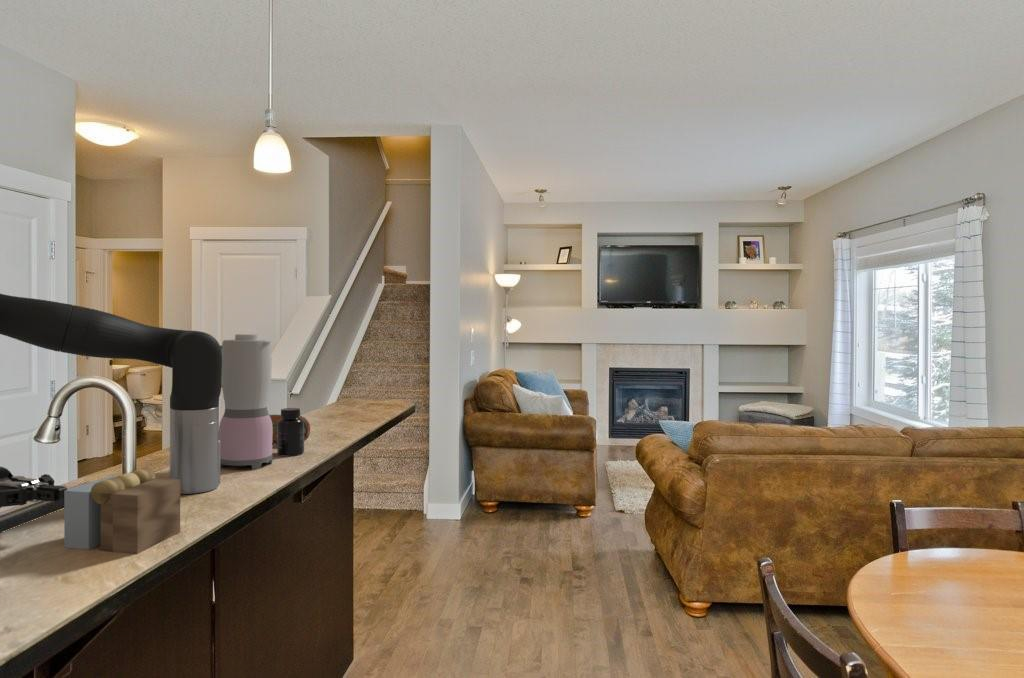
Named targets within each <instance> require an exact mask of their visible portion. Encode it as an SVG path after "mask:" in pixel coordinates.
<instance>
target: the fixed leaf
mask: <svg viewBox="0 0 1024 678" xmlns="http://www.w3.org/2000/svg"><path fill="white" fill-rule="evenodd" d="M128 473H134V474H136V475H137V476H138V478H139V480H140V484H139V485H137V486H134V487H131V488H128V489H125V485H124V483H123V481H122V480H121V479H119V478H116V477H114V478H110V479H107V480H104V481H101V482H98V483H96V484H94V485H93V486H92V488H91V497H92V499H93V500H94V501H95V502H96V503H98V504H101V544H100V551H101V552H116V553H124V554H125V553H128V554H139V553H141V552H143V551H145V550H148V549H149V548H151V547H153V546H156V545H157V544H159V543H161V542H163V541H165V540H168V539H169V538H171V537H173V536H175V535H177V534H179V533H180V532H181V494H180V479H170V478H167V477H166V478H163V477H156V476H157V475H156V474H155V471H154V470H153V469H152V468H150V467H148V466H147V467H141V468H139V469H135V470H132V471H129V472H128Z"/></svg>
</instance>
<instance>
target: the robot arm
mask: <svg viewBox="0 0 1024 678" xmlns="http://www.w3.org/2000/svg"><path fill="white" fill-rule="evenodd" d="M0 335H2V336H5V337H9V338H12V339H14V340H16V341H20V342H22V343H26V344H29V345H32V346H35V347H38V348H42V349H45V350H49V351H54V352H60V353H64V354H71V355H77V356H82V357H83V356H84V357H89V358H90V357H91V358H101V359H116V360H117V359H119V360H120V359H121V360H123V359H124V360H137V361H143V362H148V363H152V364H155V365H160V366H163V367H167V368H171V369H172V371H171V372H172V373H171V374H172V375H171V376H172V378H171V380H172V381H171V391H170V392H171V393H170V395H169V479H180V495H188V494H189V495H191V494H199V493H200V494H201V493H205V492H210V491H213V490H216V489H217V488H219V485H220V484H221V467H220V457H221V442H220V440H219V425H220V418H219V417H220V397H221V394H222V393H221V392H222V388H221V380H222V351H221V347H220V346H221V345H220V343H219V341H218V340H217V339H216V337H214V336H213V335H211V334H210V333H208V332H204V331H199V330H186V329H184V330H183V329H175V328H166V327H161V326H160V327H159V326H158V327H157V326H153V325H148V324H144V323H141V322H138V321H134V320H131V319H128V318H126V317H123V316H119V315H116V314H114V313H113V314H112V313H110V312H106V311H102V310H98V309H94V308H89V307H85V306H80V305H77V304H76V305H75V304H70V303H63V302H58V301H53V300H47V299H40V298H33V297H32V298H30V297H23V296H22V297H21V296H14V295H9V294H4V293H0ZM65 490H68V487H67V486H65V485H55V480H54V478H53V477H52V476H51V475H50V474H41V475H40V476H39V477H38V478H31V477H30V478H29V477H25V476H24V475H13V473H11V471H10V470H9V469H8V468H6V467H4V466H0V509H1V508H5V507H13V506H14V507H15V506H24V505H27V504H28V503H38V502H40V501H43V502H53V503H57V502H63V501H64V491H65Z"/></svg>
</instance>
